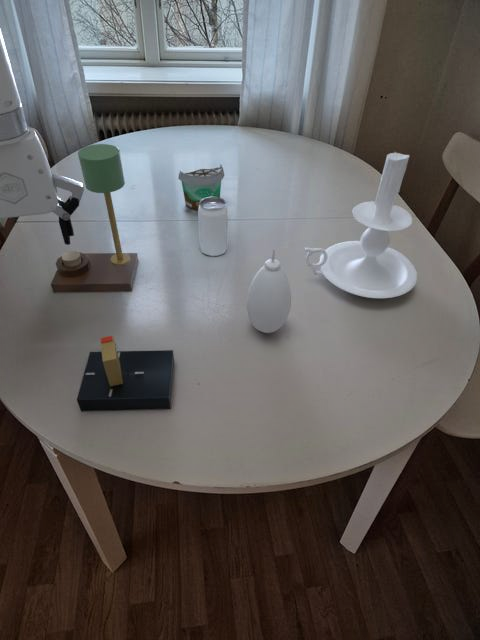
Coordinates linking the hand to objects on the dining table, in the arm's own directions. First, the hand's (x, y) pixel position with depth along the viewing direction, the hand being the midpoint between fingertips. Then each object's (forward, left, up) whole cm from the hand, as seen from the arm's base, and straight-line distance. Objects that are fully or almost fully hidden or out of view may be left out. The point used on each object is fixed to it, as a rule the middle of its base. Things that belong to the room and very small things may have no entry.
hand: (33, 243), depth 63 cm
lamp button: (-3, +21, -18) cm, 28 cm away
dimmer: (+12, -9, -22) cm, 26 cm away
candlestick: (+57, +19, -22) cm, 64 cm away
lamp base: (+1, +21, -22) cm, 30 cm away
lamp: (+7, +21, -18) cm, 28 cm away
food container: (+24, +51, -22) cm, 60 cm away
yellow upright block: (+10, -9, -19) cm, 23 cm away
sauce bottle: (+36, +4, -22) cm, 42 cm away
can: (+26, +31, -22) cm, 46 cm away
